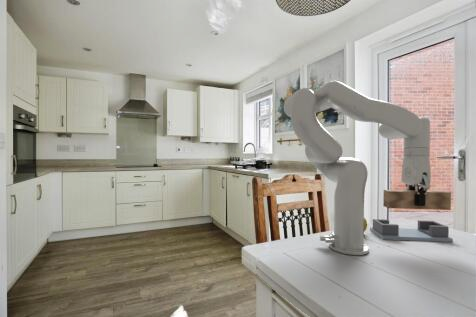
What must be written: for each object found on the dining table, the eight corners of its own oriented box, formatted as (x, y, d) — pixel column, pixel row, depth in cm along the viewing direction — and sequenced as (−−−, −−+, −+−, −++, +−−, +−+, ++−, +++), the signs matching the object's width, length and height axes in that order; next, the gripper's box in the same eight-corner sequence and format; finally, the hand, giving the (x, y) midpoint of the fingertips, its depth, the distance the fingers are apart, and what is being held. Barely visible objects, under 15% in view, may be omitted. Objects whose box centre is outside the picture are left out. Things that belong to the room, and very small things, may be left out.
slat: (388, 208, 89) (388, 191, 89) (383, 205, 93) (383, 189, 93) (450, 209, 86) (450, 192, 86) (442, 207, 90) (442, 190, 90)
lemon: (367, 233, 105) (367, 214, 105) (366, 236, 101) (366, 216, 100) (353, 230, 108) (353, 212, 108) (351, 234, 104) (351, 215, 103)
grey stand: (382, 239, 98) (382, 225, 98) (369, 229, 110) (370, 218, 110) (452, 241, 95) (452, 228, 95) (431, 232, 107) (432, 219, 107)
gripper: (393, 153, 98) (393, 199, 98) (418, 152, 81) (418, 209, 82) (414, 153, 97) (413, 200, 97) (444, 152, 81) (443, 209, 81)
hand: (415, 203), depth 90 cm, fingers closed on slat, 4 cm apart
